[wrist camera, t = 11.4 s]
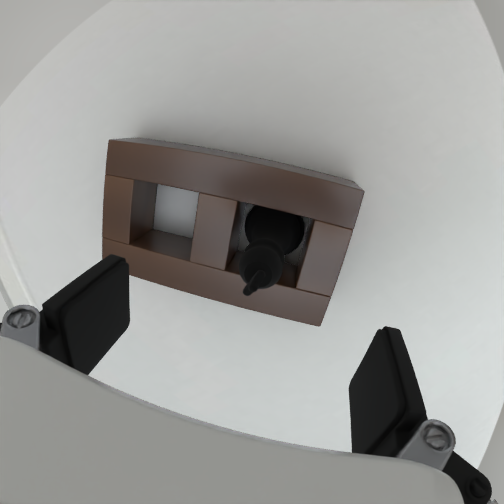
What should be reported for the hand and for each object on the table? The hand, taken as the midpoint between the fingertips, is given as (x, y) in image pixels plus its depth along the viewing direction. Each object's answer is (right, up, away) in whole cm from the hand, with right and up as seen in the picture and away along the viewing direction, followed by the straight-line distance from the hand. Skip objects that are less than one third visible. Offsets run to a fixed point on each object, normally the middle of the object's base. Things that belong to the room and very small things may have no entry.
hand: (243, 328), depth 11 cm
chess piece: (+2, +5, +13) cm, 14 cm away
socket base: (-2, +5, +13) cm, 14 cm away
